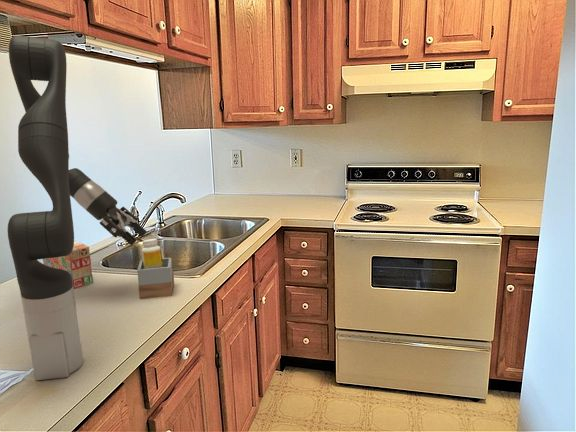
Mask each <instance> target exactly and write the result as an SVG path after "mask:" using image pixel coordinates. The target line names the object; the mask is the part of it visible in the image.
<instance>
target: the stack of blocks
mask: <svg viewBox="0 0 576 432" xmlns="http://www.w3.org/2000/svg"><path fill="white" fill-rule="evenodd" d="M42 264H44V265H46V266H49V267H53V268H57V269H62V270H65V271H67V272H69V273H70V274H71V277H72V282H73V290H75V289H79V288H81V287H84V286H88V285H90V284H94V276H93V273H92V270H93V269H92V262H91V252H90V246H88V245H86V244H84V243H81V242H79V241H75V240H74V247H73V250H72V252H71V254H69V255H68V256H63V257H54V258H46V259H42Z"/></svg>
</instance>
